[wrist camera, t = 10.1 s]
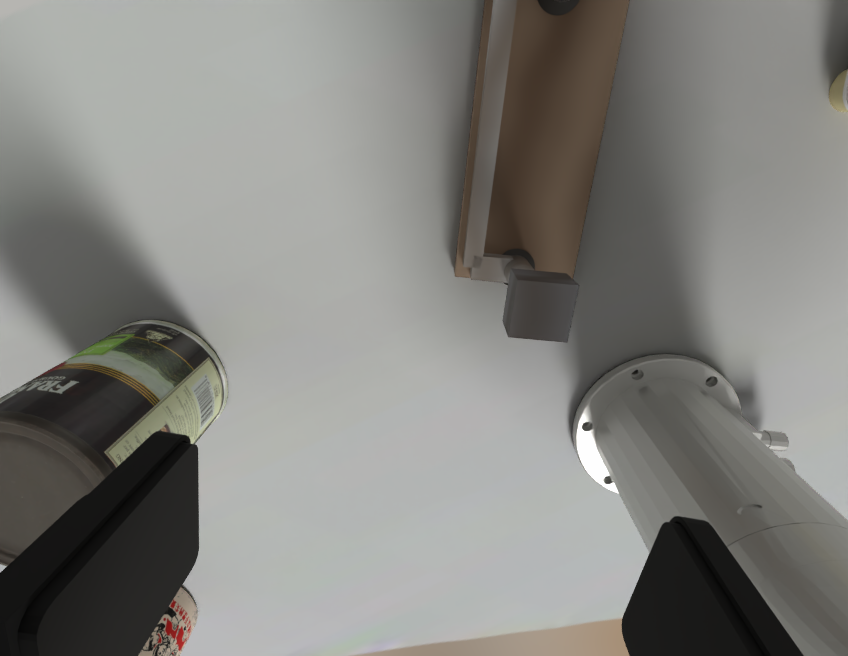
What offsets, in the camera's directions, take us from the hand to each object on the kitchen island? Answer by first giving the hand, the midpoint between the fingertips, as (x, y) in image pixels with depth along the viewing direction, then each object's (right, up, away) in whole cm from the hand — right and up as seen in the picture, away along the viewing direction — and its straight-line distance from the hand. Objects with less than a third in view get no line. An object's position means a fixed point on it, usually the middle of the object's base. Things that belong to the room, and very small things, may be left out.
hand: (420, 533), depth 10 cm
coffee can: (-21, 0, +29) cm, 35 cm away
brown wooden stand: (+7, +17, +21) cm, 28 cm away
